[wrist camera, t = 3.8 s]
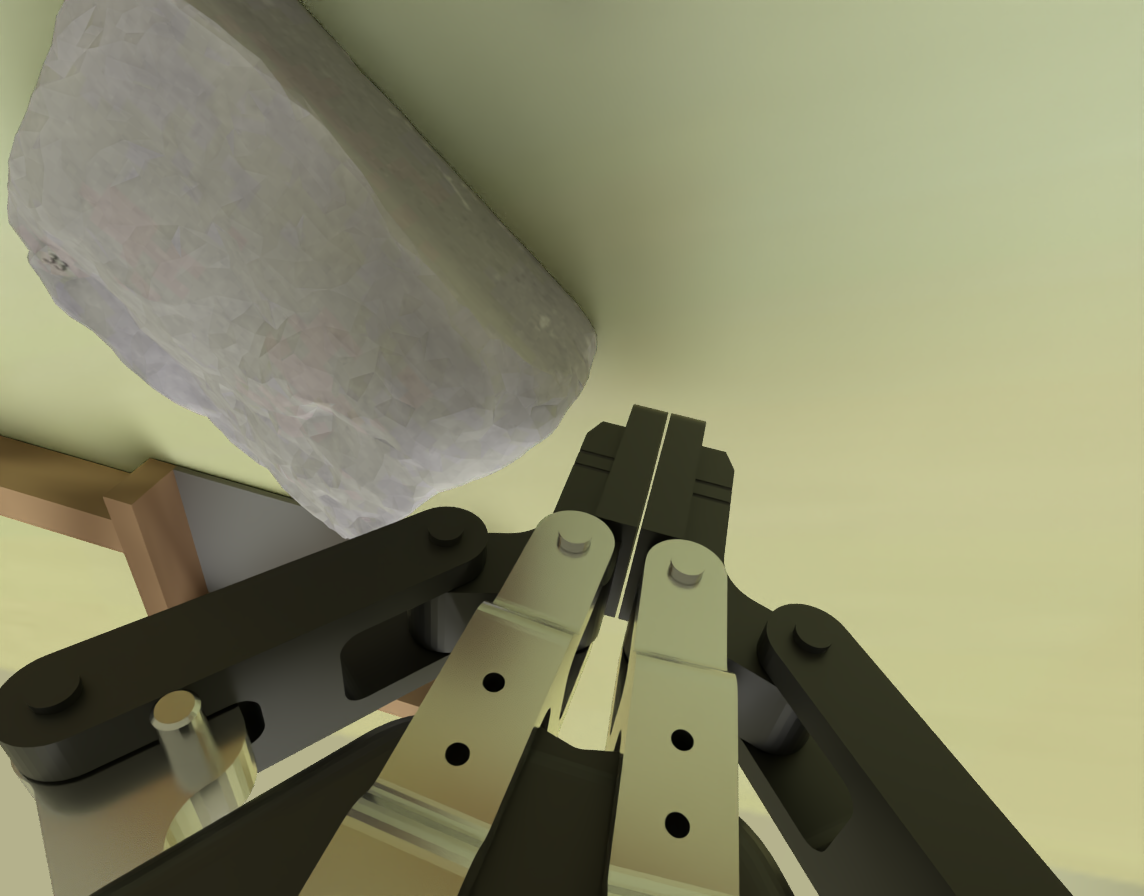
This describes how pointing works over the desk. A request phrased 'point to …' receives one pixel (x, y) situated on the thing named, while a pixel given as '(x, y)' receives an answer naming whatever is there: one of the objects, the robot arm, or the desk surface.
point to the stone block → (287, 254)
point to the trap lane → (166, 524)
